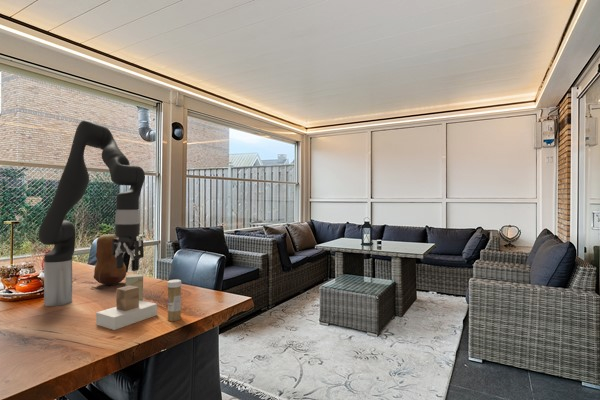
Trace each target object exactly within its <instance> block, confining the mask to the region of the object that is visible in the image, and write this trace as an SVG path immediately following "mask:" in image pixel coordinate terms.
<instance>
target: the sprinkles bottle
mask: <svg viewBox="0 0 600 400" xmlns="http://www.w3.org/2000/svg"><path fill="white" fill-rule="evenodd" d="M166 283H167V285H166V287H167V318H166V320H167V321H170V322H176V321H179V320H182V316H181V314H182V313H181V309H182V291H181V290H182V280H181V279H170V280H168V281H167V282H166Z"/></svg>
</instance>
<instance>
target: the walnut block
mask: <svg viewBox="0 0 600 400" xmlns="http://www.w3.org/2000/svg"><path fill="white" fill-rule="evenodd" d="M115 294H116V300H115V301H116V306H115V307H116V309H119V310H123V311H128V310H131V309H134V308H138V307H139V287H136V286H126V285H125V286H122V287H118V288H116V293H115Z"/></svg>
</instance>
